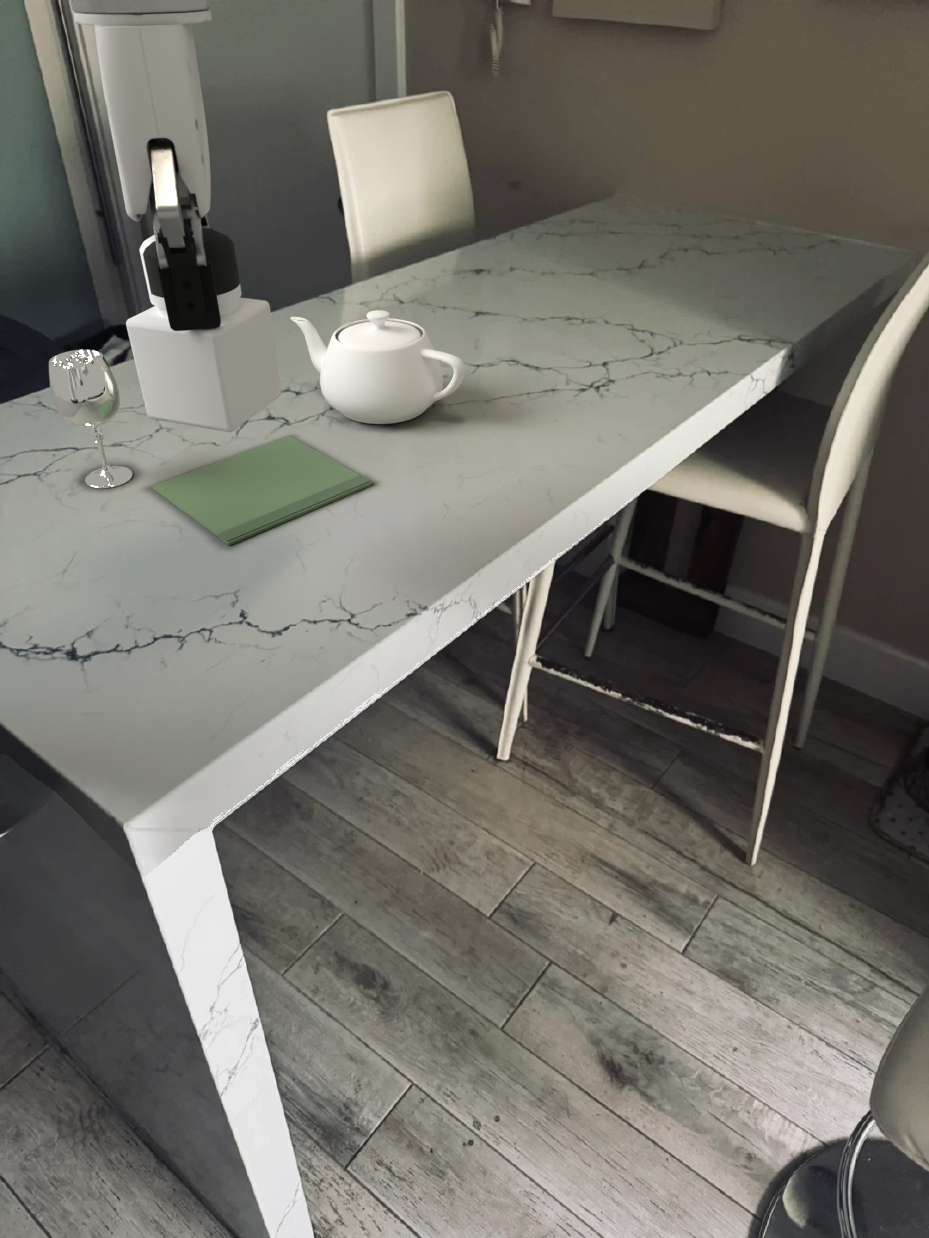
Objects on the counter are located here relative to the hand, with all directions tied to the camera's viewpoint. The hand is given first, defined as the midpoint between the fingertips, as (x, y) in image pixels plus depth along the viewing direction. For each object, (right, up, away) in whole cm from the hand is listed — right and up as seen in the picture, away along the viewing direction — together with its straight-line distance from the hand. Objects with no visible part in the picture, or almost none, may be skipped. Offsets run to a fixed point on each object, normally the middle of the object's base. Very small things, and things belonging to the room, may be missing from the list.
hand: (197, 306), depth 60 cm
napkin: (-1, -9, +25) cm, 26 cm away
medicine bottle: (0, -6, +5) cm, 8 cm away
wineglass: (-17, -8, +27) cm, 32 cm away
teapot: (+8, +3, +40) cm, 41 cm away
